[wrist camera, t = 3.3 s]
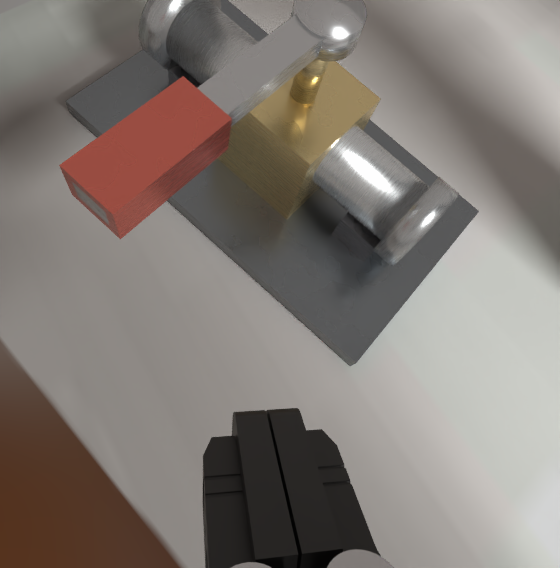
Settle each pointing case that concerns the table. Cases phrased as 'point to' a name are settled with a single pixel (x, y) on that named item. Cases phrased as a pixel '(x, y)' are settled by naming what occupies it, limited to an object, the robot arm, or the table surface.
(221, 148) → the valve lever
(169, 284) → the table surface
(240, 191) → the valve body
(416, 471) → the table surface
